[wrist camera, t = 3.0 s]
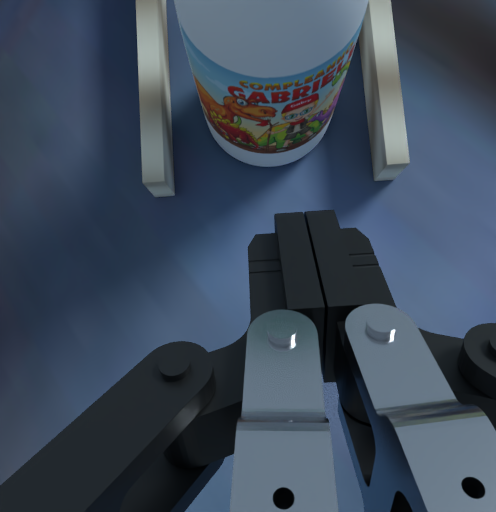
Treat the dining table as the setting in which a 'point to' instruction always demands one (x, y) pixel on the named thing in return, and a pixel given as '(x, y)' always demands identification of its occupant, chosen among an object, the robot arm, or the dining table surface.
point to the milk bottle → (269, 70)
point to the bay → (374, 78)
